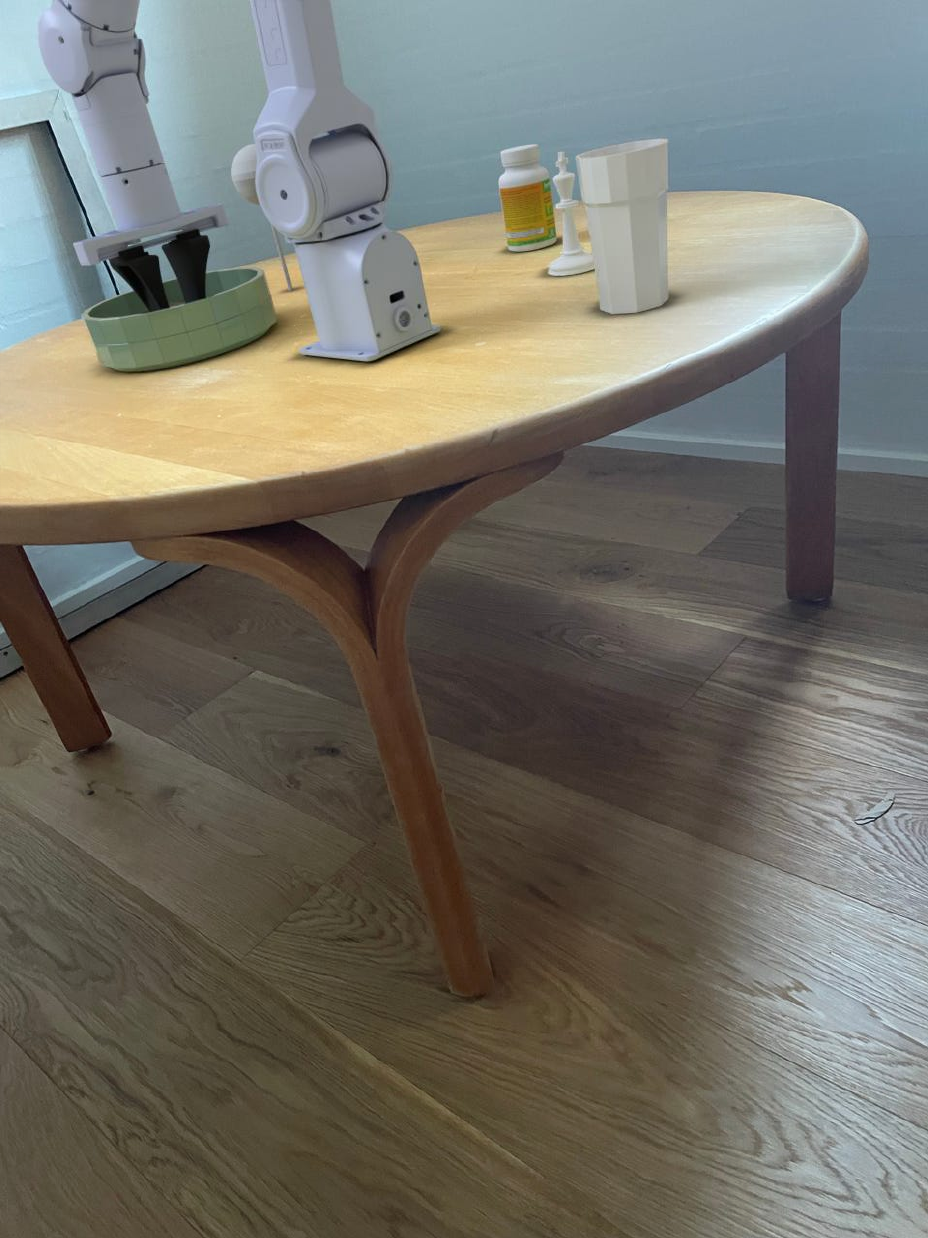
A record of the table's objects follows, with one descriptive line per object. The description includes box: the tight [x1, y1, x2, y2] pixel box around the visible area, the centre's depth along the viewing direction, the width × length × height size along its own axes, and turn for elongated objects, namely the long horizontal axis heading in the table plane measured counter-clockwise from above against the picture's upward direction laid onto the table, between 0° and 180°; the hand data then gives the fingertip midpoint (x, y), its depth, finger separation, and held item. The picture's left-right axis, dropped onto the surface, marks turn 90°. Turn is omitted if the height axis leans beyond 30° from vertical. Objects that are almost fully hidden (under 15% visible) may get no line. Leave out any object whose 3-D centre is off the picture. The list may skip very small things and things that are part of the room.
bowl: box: [80, 266, 277, 373], centre depth 87 cm, size 17×17×5 cm
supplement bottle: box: [497, 143, 557, 253], centre depth 97 cm, size 5×5×10 cm
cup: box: [575, 138, 670, 315], centre depth 68 cm, size 7×7×11 cm
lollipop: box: [230, 143, 294, 292], centre depth 100 cm, size 6×6×15 cm
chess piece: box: [547, 150, 595, 277], centre depth 83 cm, size 5×5×10 cm
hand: (184, 324), depth 88 cm, fingers closed on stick, 3 cm apart
